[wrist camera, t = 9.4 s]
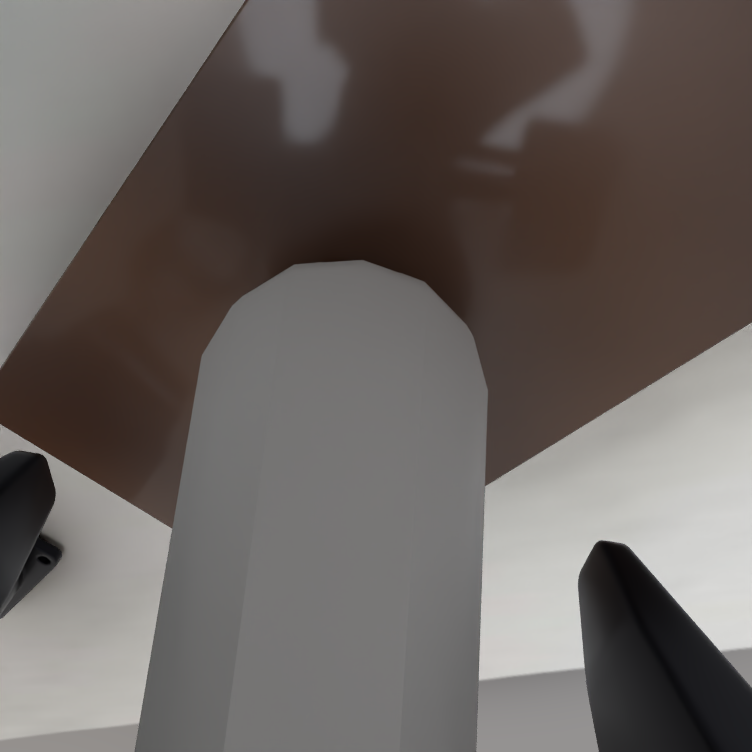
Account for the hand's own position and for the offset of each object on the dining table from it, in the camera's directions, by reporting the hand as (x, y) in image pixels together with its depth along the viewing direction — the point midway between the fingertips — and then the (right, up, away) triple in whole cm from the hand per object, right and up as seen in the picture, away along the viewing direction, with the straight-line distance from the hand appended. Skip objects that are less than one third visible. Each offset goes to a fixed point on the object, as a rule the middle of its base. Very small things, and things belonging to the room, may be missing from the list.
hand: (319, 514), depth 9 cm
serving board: (+1, +4, +6) cm, 8 cm away
